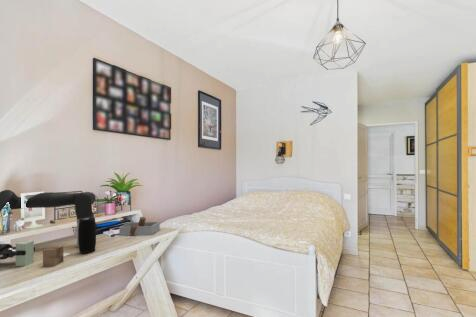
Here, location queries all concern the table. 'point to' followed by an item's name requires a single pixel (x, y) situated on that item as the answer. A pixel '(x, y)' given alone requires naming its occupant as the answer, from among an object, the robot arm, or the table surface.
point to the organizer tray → (139, 228)
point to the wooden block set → (141, 223)
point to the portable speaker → (87, 234)
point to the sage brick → (29, 256)
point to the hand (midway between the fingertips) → (29, 251)
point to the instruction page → (64, 254)
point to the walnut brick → (53, 256)
